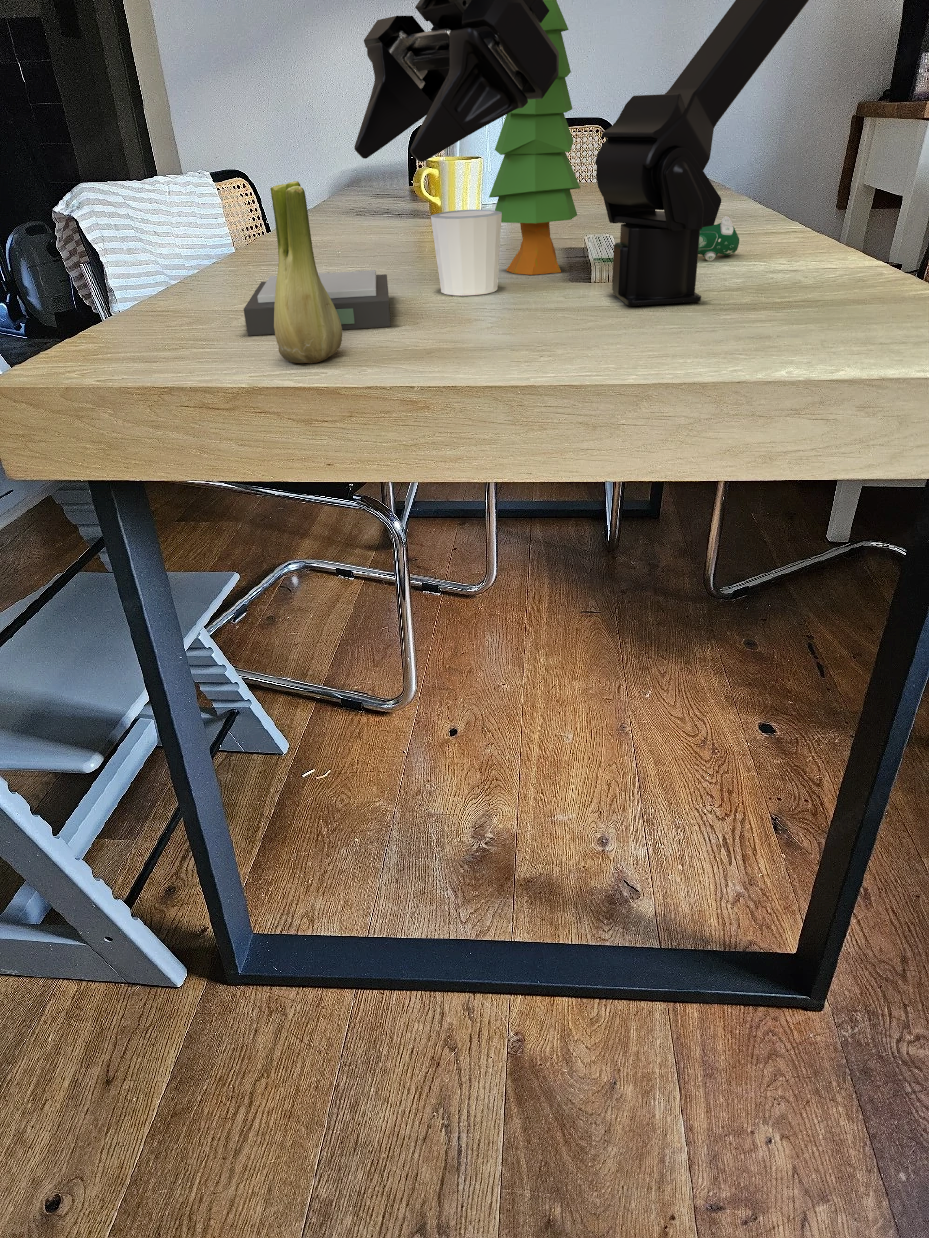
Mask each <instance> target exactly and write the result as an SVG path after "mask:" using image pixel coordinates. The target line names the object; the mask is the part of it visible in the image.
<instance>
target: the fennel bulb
mask: <svg viewBox="0 0 929 1238" xmlns="http://www.w3.org/2000/svg"><path fill="white" fill-rule="evenodd" d="M270 195H271V202H272V210H273V215H274V223H275V232H276V241H277V255H278V264H277V274H276V276H277V280H276V291H275V305H274V329H275V334H274V336H275V339H276V343H277V346H278V349H277V350H278V353H279V355H280V356H281V357H282V358H283V359H284V360H285V361H288V362H290V363H296V364H317V363H320V362H323V361H325V360H327V359H328V358H329V357H331V356H332V355H334V354H336V353H337V352H338V350H340V348H341V346H342V342H343V330H342V326H341V322H340V319H339V316H338V314H337V311H336V309H335V307H334V304H333V302H332V301H331V299H330V297H329V295H328V293H327V291H326V290H325V288H324V286H323V284H322V283H321V280H320V277H319V275H318V273H319V272H318V269H317V265H316V260H315V254H314V248H313V242H312V234H311V227H310V221H309V219H310V217H309V212H308V211H309V210H308V204H307V196H306V192H305V189H304V187H302V186H301V183H300V182H299V181H298V180H294V181H290V182H288V183H284V184H283V183H282V184H276V185H274V186H271V187H270Z"/></svg>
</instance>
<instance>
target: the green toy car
mask: <svg viewBox="0 0 929 1238" xmlns="http://www.w3.org/2000/svg"><path fill="white" fill-rule="evenodd" d="M739 245H740V237H739V235H738V233H737V230H736V228H735V226H734V224H733V222H732V219H731V218H730V217H729V216H727V215H726V216H723V217H722V218H721V221H720V222H719V223H717V224H714V225H713V226H707V227H703V228H702V229H700V237H699V249H698V255H702V256H703V257H704V259H705V260H706V261H711V262H712V261H713V260H715V258H716V257H717V256H718V255H722V256H726V257H730V256H732V255H734V254H735V253H736V252H737V251H738V248H739Z"/></svg>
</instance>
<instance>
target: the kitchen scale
mask: <svg viewBox="0 0 929 1238" xmlns="http://www.w3.org/2000/svg"><path fill="white" fill-rule="evenodd" d="M318 275H319V277H320V280H321V283H322V284H323V286H324V288H325V290H326V291H327V293H328V295H329V297H330V299H331V301H332V302H333V304H334V307H335V309H336V311H337V314H338V316H339V319H340V322H341V326H342V331H346V330H360V329H362V330H363V329H376V328H390V327H391V326H392V325H391V309H390V294H389V293H390V292H389V283H388V282H389V281H388V274H387V273H384V274H382V273H381V274H377V270H376V269H365V270H352V271H350V270H349V271H335V272H318ZM276 280H277V275H270V276H269V277H268V278H267V280H266V281H261V282H260V283H259V285H258V286H257V288H256V289H255V290H254V292H253V294H252V295H251V297H250V298H249V300H248V301H247V303H246V304H245V306H244V307H243V314H244V320H245V326H246V334H247V336H248V337H250V336H266V335H275V329H274V305H275V291H276Z"/></svg>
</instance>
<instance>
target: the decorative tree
mask: <svg viewBox="0 0 929 1238" xmlns="http://www.w3.org/2000/svg"><path fill="white" fill-rule="evenodd" d="M543 2H544V3H545V4H546V6H547V7H548V9H549V10H550V11H549V12H548V14H547V15H546V17H545V18H544V20H543V21H542V23H539V24H540V25H541V27H542V28H543V30H544V31H545V32H546V34H547V35H548V37H549V38H550V40H551V41H552V42H553V44H554V45H555V47H556V48H557V50H558V51H559V75H558V77H557V78H556V80H555V81H554V82H553V84H552V85H551V87H550V88H549V90H548V91H547V93H546V94H545V95H544V97H543V98H542V99H528V103H527V104H526V105H525V106H524V107H523V108H518V109H516V110H514V111H512V112H510V113H508V114H506V115H505V118H504V120H503V124H502V126H501V129H500V133H499V136H498V139H497V141H496V144H495V147H494V151H495V152H497V154H499V155H500V156H503V158H502V160H501V163H500V167H499V168H498V172H497V173H496V177H495V180H494V181H493V185H492V188H491V190H490V193H489V196H488V198H497V200H496V205H495V208H494V211H499V212H502V220H501V224H504V223H505V224H519V225H520V231H521V236H522V237H521V239H522V241H521V244H520V247H519V250H518V251H517V252H516V255H515V256H514V257H513V259H512V261H511V262H510V264H509V265H508V266H507V268H506V269H505V271H507V272H509V273H512V274H515V275H517V274H518V275H531V276H535V275H546V274H555V273H562V270H561V267H560V265H559V264H558V259H557V254H556V249H555V245H554V243H553V240H552V238H551V228H550V223H552V222H561V221H570V220H571V221H572V220H573V219H575V217H577V216H578V212H577V208H576V206H575V202H574V199H573V195H572V192H571V190H579V189H581V186H580V183H579V181H578V178H577V177H576V173H575V172H574V171H575V170H574V169H573V167H572V164H571V162H570V160H569V157H568V155H567V153H570V152H571V151H572V147H573V144H574V137H573V135H572V132H571V130H570V127H569V123H568V122H567V118H566V116H565V113H568V112H570V111H572V110H573V105H572V101H571V100H572V99H571V96H570V91H569V88H568V84H567V79H566V78H567V77H568V76H569V75H570V74H571V73H572V71H571V66H570V62H569V58H568V54H567V50H566V46H565V41H564V38H563V32H566V31H569V30H570V29H569V26H568V24H567V22H566V19H565V17H564V15H563V12H562V11H561V7H560V5H559V3H558V1H557V0H544V1H543Z"/></svg>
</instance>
